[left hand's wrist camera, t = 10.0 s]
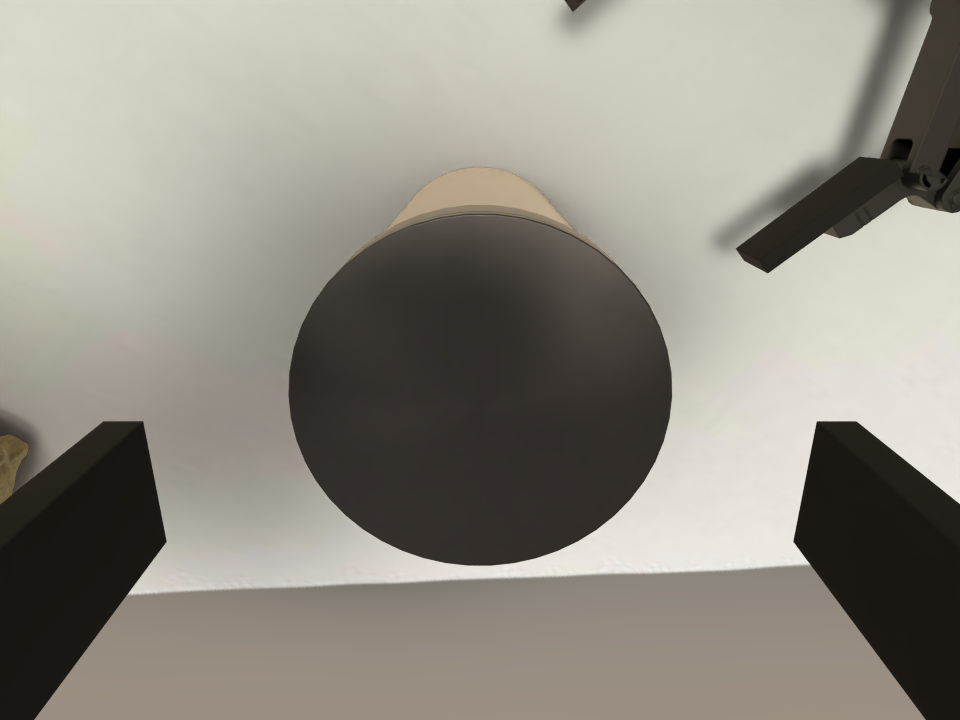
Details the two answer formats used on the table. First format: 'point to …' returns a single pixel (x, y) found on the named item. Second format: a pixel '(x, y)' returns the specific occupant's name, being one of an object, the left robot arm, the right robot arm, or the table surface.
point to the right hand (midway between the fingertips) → (666, 138)
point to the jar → (478, 194)
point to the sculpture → (10, 463)
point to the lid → (480, 386)
